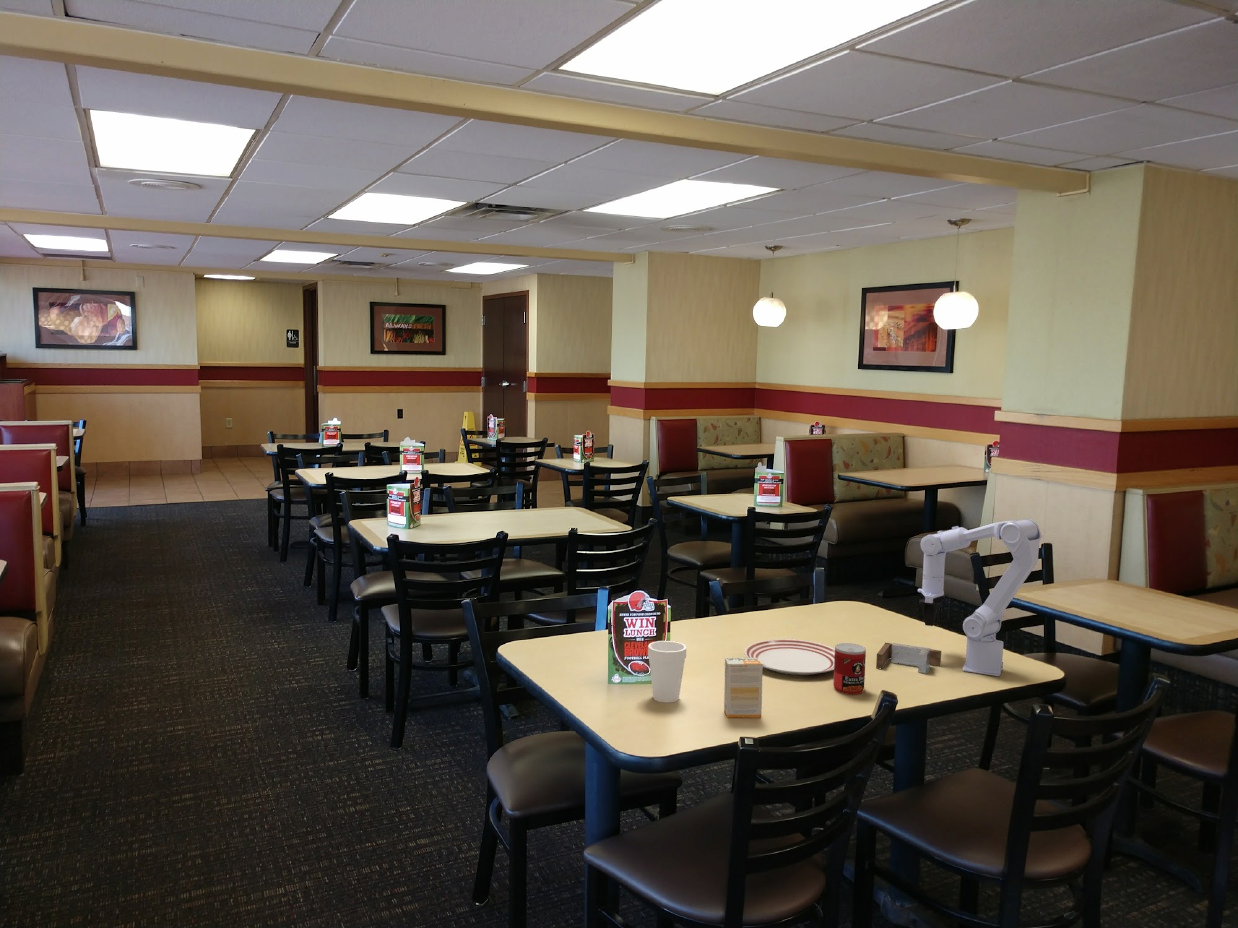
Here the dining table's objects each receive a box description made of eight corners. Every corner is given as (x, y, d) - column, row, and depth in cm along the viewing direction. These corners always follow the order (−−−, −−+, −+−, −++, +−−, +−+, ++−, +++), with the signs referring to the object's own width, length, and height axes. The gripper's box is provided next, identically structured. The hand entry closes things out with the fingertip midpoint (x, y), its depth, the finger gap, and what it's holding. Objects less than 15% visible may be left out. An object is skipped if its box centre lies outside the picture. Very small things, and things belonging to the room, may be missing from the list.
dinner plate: (856, 682, 234) (857, 669, 234) (752, 680, 234) (752, 668, 233) (831, 650, 261) (831, 639, 261) (737, 649, 261) (738, 638, 261)
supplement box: (757, 710, 212) (759, 656, 211) (761, 718, 207) (763, 663, 206) (723, 710, 212) (724, 656, 210) (726, 718, 207) (727, 663, 206)
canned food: (843, 695, 223) (844, 652, 222) (827, 685, 231) (829, 643, 230) (870, 693, 225) (872, 650, 224) (853, 682, 233) (855, 641, 232)
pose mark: (930, 666, 247) (930, 666, 247) (927, 673, 241) (927, 673, 241) (895, 661, 251) (895, 660, 251) (891, 667, 245) (891, 667, 245)
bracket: (929, 665, 247) (930, 648, 247) (925, 673, 241) (926, 655, 241) (892, 660, 252) (893, 642, 251) (887, 667, 246) (888, 649, 245)
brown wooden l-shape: (940, 664, 249) (941, 650, 249) (934, 677, 238) (935, 662, 238) (884, 656, 256) (885, 642, 256) (876, 667, 245) (876, 653, 245)
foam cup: (693, 698, 219) (694, 646, 218) (667, 707, 213) (668, 654, 211) (664, 688, 226) (665, 638, 225) (639, 697, 219) (640, 645, 218)
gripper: (922, 569, 263) (920, 614, 264) (914, 578, 250) (912, 626, 251) (948, 572, 260) (945, 617, 261) (941, 581, 247) (938, 629, 248)
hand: (931, 622), depth 256 cm, fingers open, 7 cm apart
